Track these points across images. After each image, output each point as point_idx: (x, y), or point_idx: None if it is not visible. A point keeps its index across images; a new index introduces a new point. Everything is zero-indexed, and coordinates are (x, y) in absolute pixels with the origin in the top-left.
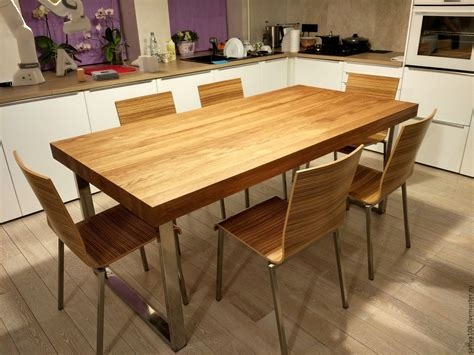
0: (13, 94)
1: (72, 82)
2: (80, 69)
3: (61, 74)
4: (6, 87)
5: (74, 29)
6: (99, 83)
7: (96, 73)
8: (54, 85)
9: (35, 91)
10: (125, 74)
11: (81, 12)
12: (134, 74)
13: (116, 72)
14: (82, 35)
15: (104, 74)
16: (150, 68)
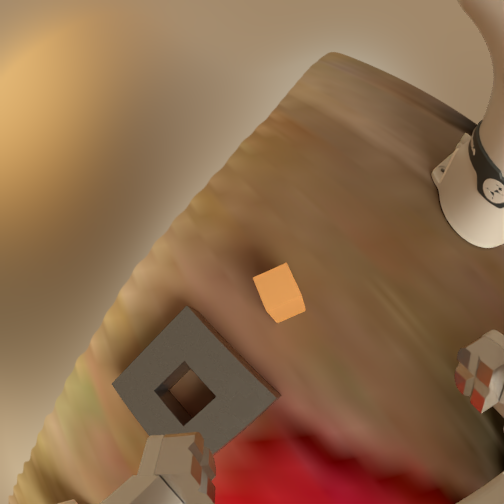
0: (349, 69)
1: (300, 242)
2: (267, 277)
3: None
4: (470, 124)
5: (483, 493)
6: (156, 252)
7: (208, 347)
8: (335, 172)
9: (319, 98)
10: None
11: None
12: (104, 464)
13: (118, 383)
14: (199, 439)
15: (157, 337)
16: (63, 502)
